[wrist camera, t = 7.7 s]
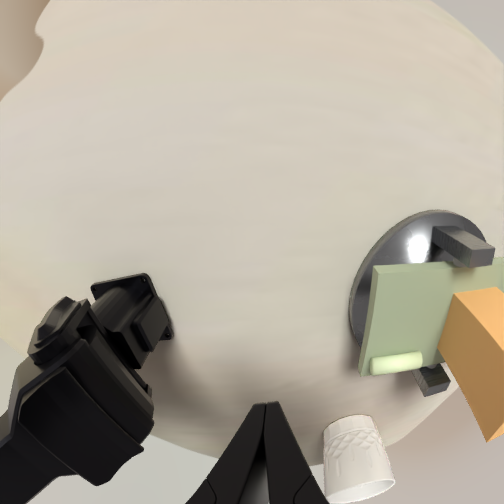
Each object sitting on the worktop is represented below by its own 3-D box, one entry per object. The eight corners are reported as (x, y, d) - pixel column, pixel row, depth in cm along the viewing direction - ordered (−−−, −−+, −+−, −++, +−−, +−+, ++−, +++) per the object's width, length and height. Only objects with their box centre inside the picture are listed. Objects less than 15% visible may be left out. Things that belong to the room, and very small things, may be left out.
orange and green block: (356, 370, 20) (381, 490, 10) (373, 258, 17) (456, 386, 6) (482, 346, 18) (532, 425, 8) (512, 250, 15) (596, 316, 4)
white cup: (306, 437, 29) (310, 503, 19) (346, 405, 26) (362, 479, 17) (350, 445, 30) (359, 503, 20) (389, 416, 27) (409, 478, 18)
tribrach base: (340, 367, 24) (353, 418, 18) (354, 210, 19) (389, 237, 13) (461, 343, 23) (488, 379, 17) (494, 210, 17) (539, 231, 11)
